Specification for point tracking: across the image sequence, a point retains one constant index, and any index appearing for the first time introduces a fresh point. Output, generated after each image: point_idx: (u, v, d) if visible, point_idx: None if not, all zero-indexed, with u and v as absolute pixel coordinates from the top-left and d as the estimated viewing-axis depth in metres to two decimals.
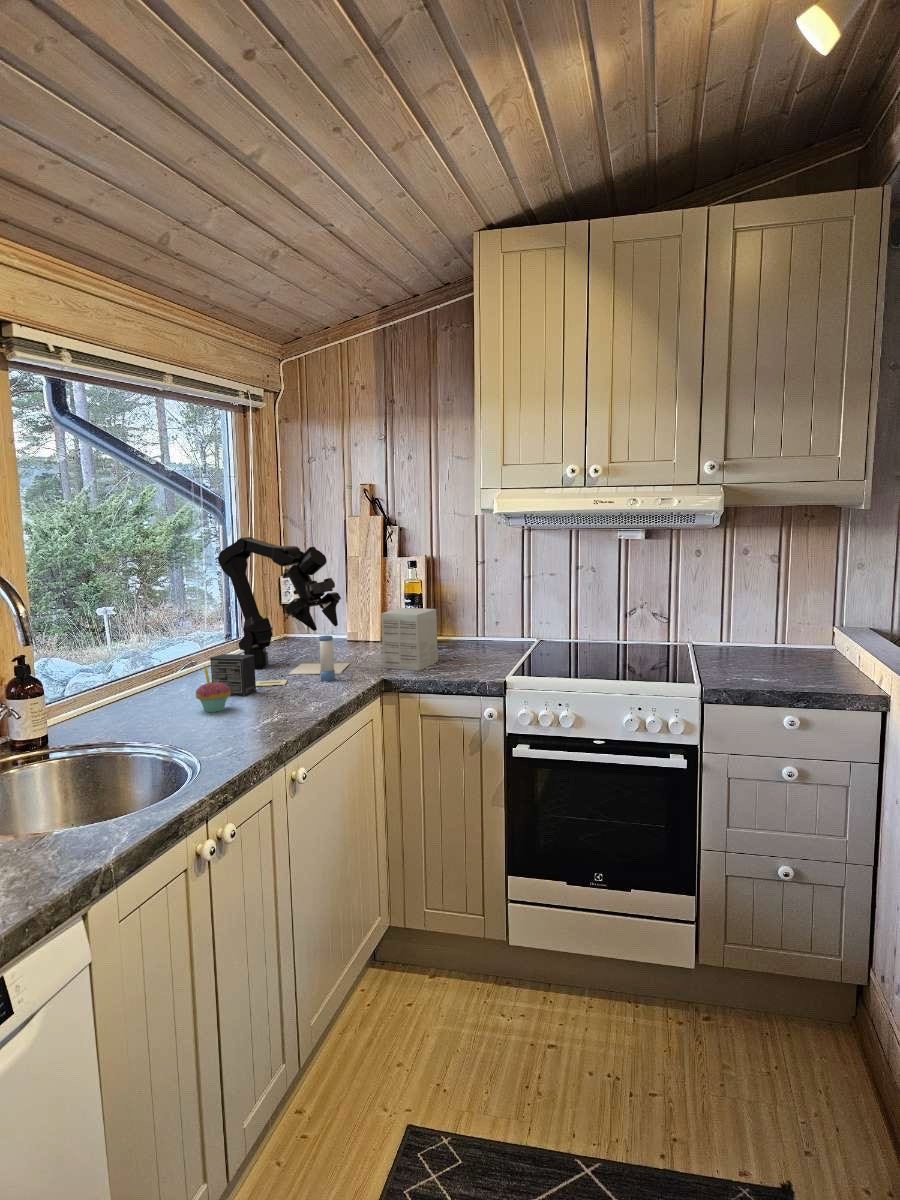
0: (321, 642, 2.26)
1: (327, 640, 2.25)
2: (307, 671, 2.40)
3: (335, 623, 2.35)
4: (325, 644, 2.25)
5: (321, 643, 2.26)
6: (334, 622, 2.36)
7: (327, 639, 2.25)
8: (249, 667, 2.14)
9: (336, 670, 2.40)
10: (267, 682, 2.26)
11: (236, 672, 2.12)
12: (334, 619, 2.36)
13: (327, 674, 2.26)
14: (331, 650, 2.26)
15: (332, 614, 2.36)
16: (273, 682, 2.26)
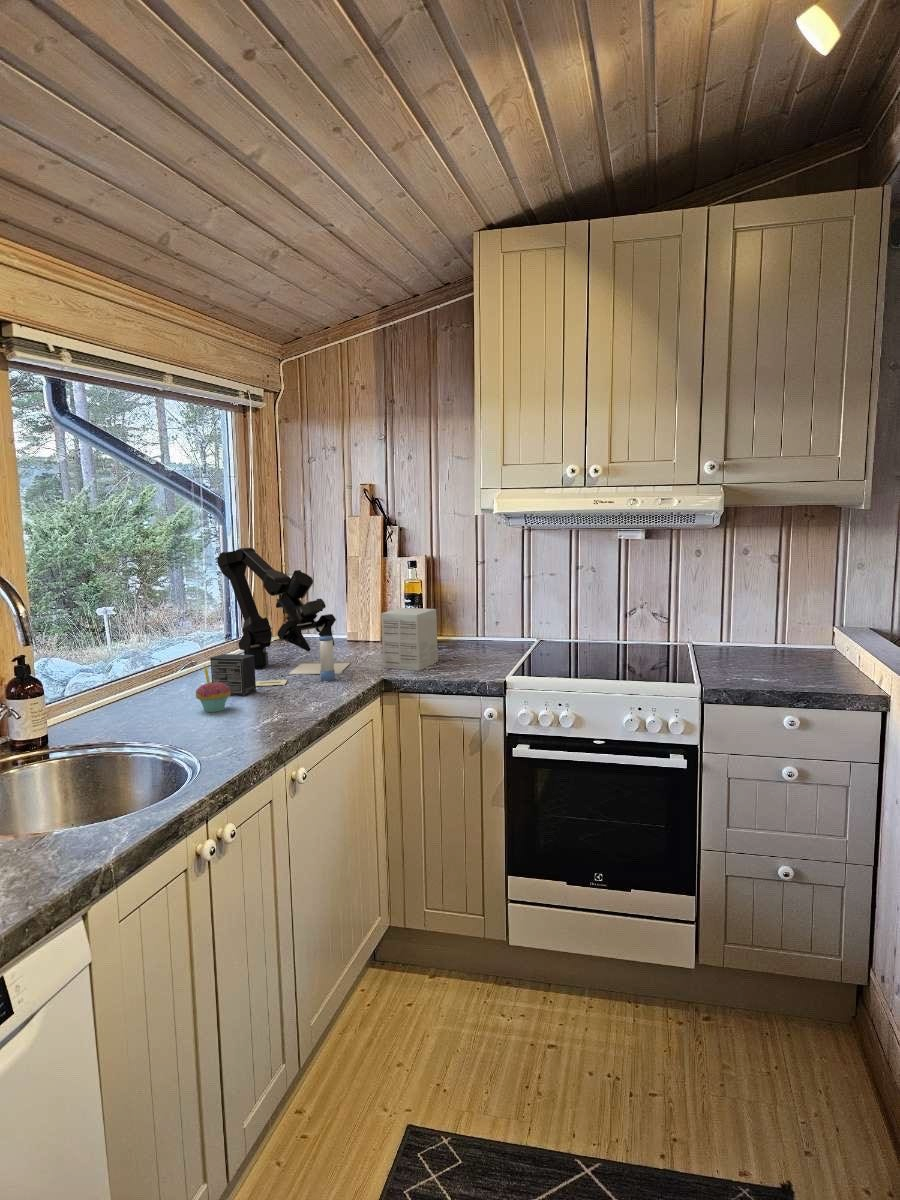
0: (321, 642, 2.26)
1: (327, 640, 2.25)
2: (307, 671, 2.40)
3: None
4: (325, 644, 2.25)
5: (321, 643, 2.26)
6: None
7: (327, 639, 2.25)
8: (249, 667, 2.14)
9: (336, 670, 2.40)
10: (267, 682, 2.26)
11: (236, 672, 2.12)
12: None
13: (327, 674, 2.26)
14: (331, 650, 2.26)
15: (328, 635, 2.33)
16: (273, 682, 2.26)
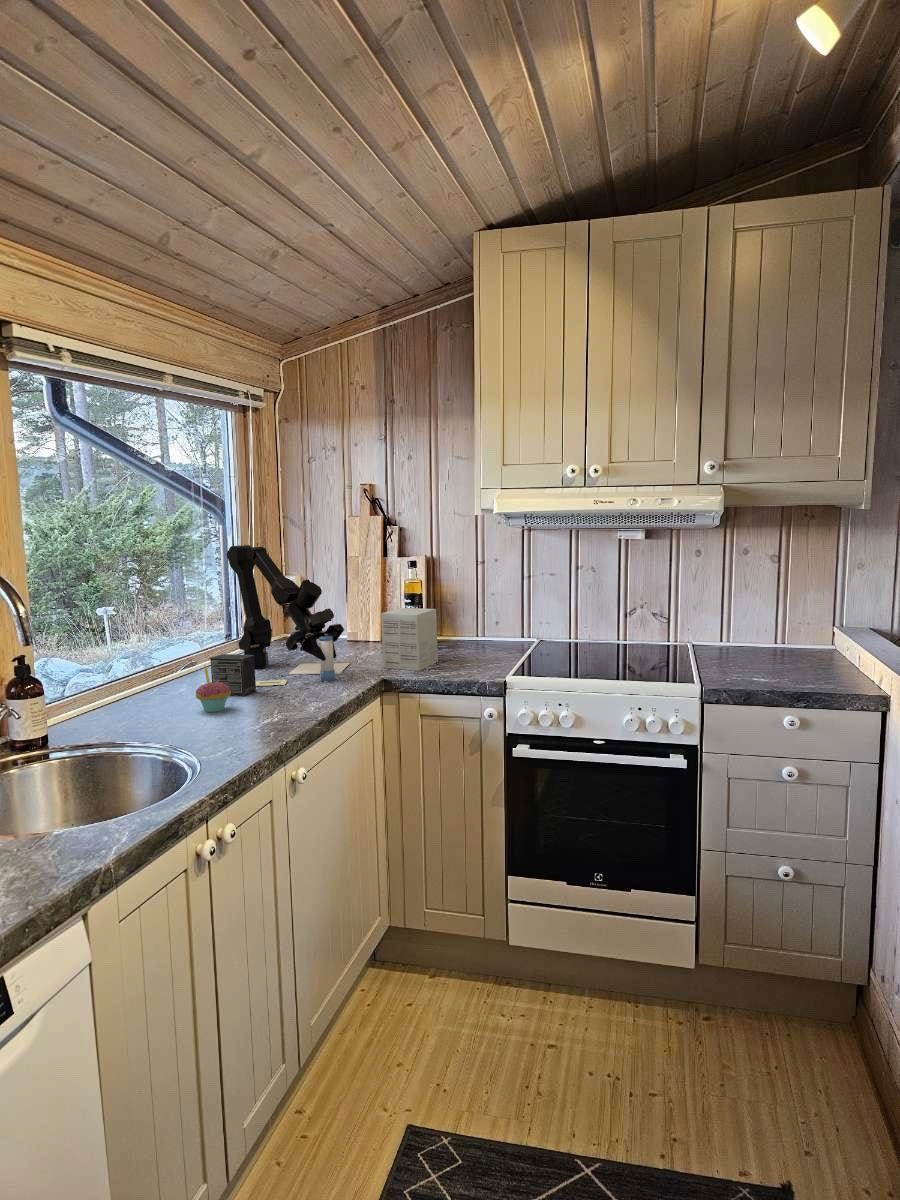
0: (321, 642, 2.26)
1: (327, 640, 2.25)
2: (307, 671, 2.40)
3: (334, 655, 2.28)
4: (325, 644, 2.25)
5: (321, 643, 2.26)
6: None
7: (327, 638, 2.25)
8: (249, 667, 2.14)
9: (336, 670, 2.40)
10: (267, 682, 2.26)
11: (236, 672, 2.12)
12: None
13: (327, 674, 2.26)
14: (331, 650, 2.26)
15: None
16: (273, 682, 2.26)
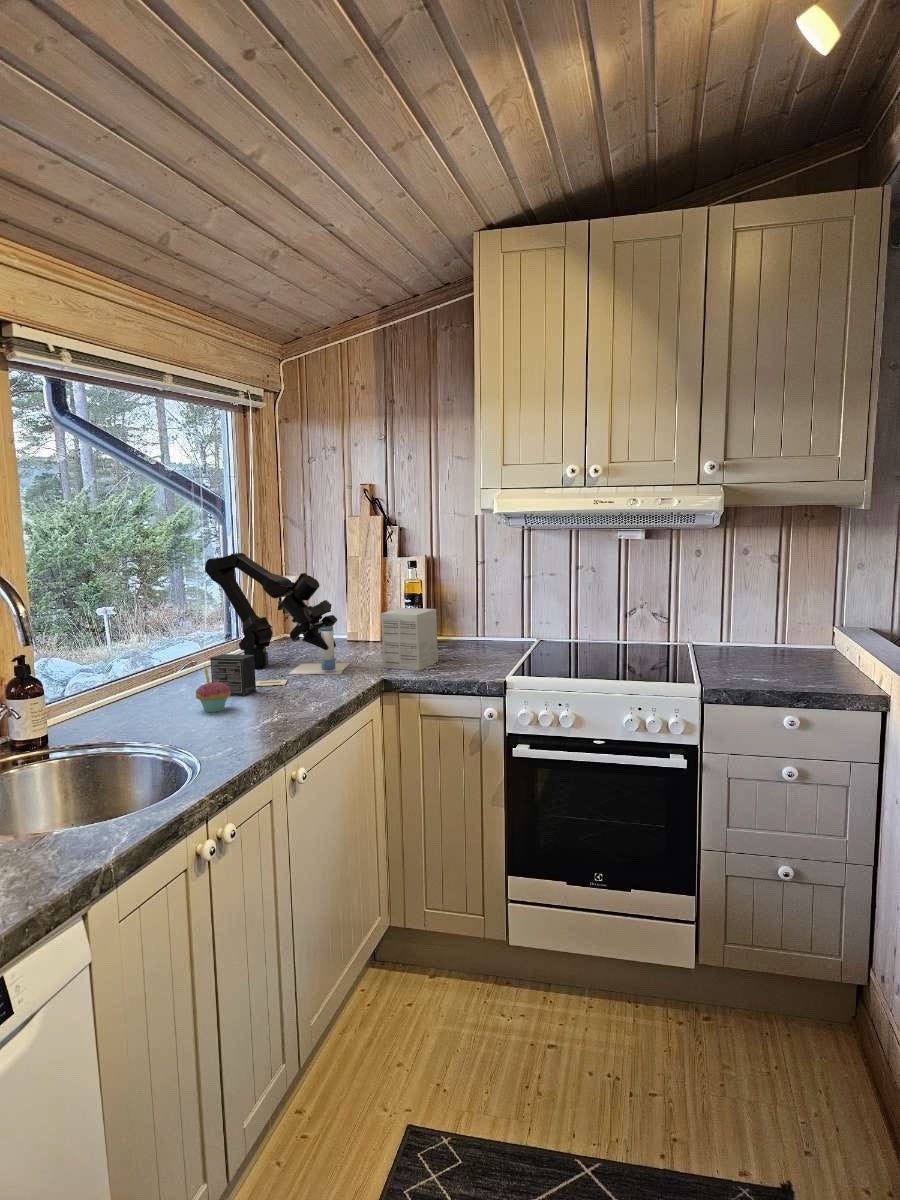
0: (323, 632, 2.35)
1: (329, 630, 2.35)
2: (307, 671, 2.40)
3: None
4: (327, 634, 2.35)
5: (323, 633, 2.35)
6: None
7: (329, 629, 2.35)
8: (249, 667, 2.14)
9: (336, 670, 2.40)
10: (267, 682, 2.26)
11: (236, 672, 2.12)
12: None
13: (329, 662, 2.36)
14: (332, 639, 2.37)
15: None
16: (273, 682, 2.26)
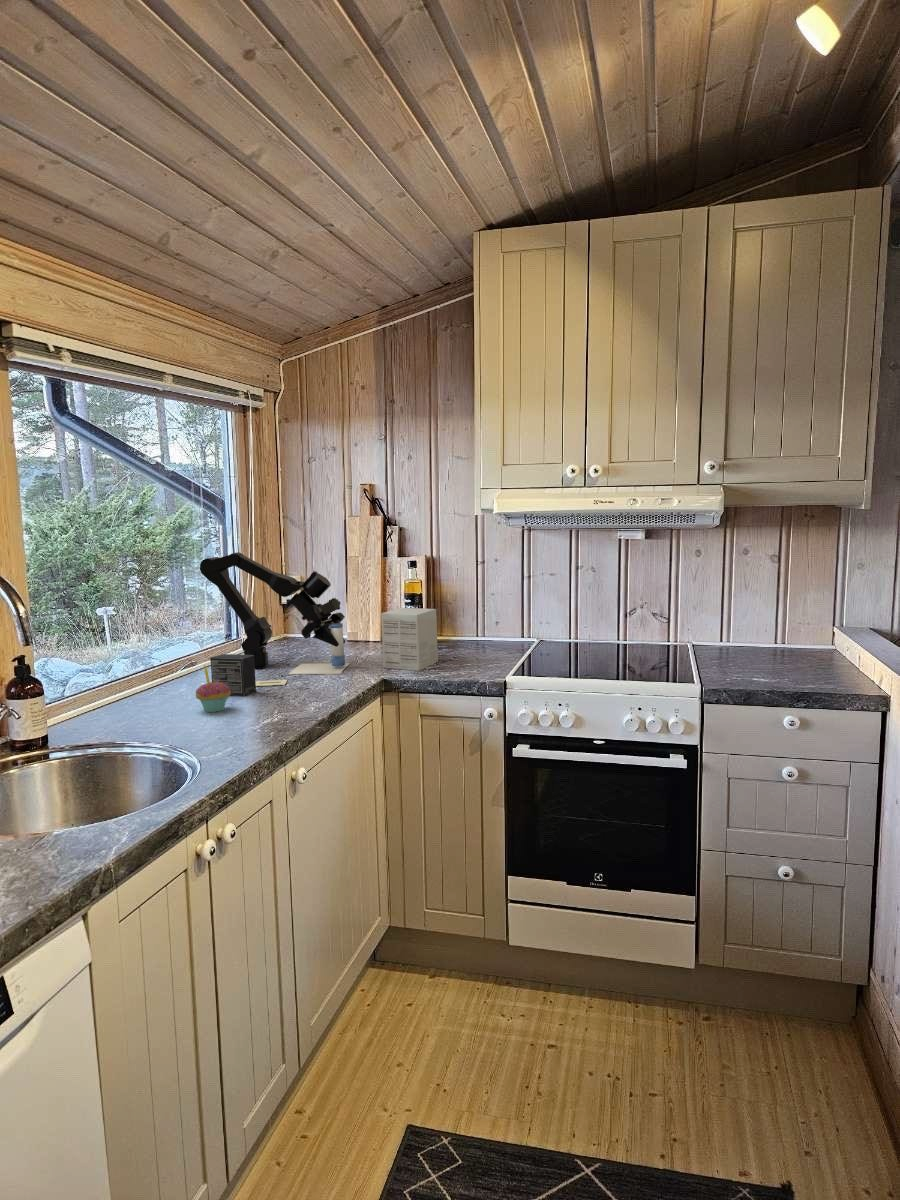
0: (334, 629, 2.41)
1: (339, 627, 2.41)
2: (307, 671, 2.40)
3: None
4: (338, 631, 2.41)
5: (334, 630, 2.41)
6: None
7: (340, 625, 2.41)
8: (249, 667, 2.14)
9: (336, 670, 2.40)
10: (267, 682, 2.26)
11: (236, 672, 2.12)
12: None
13: (340, 658, 2.42)
14: (342, 636, 2.43)
15: None
16: (273, 682, 2.26)
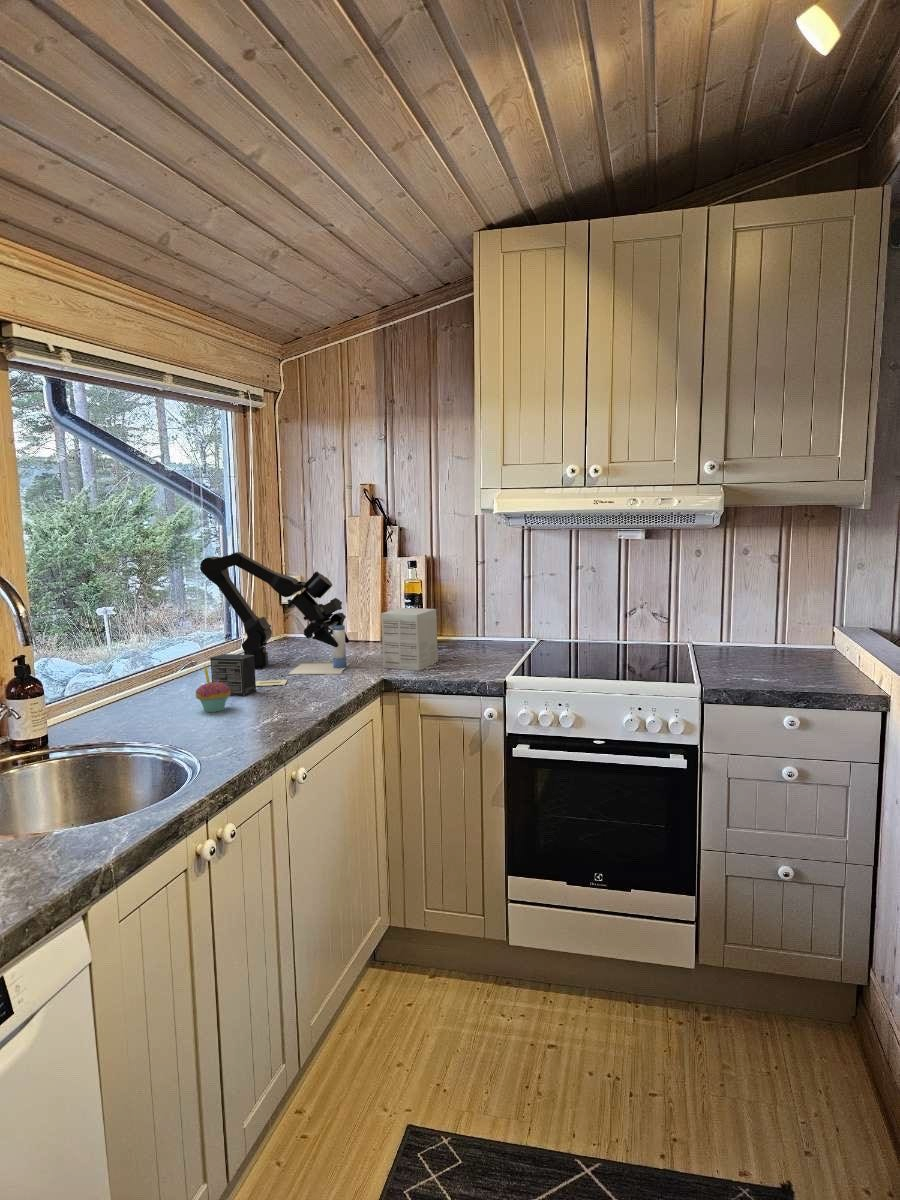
0: (336, 631, 2.42)
1: (342, 629, 2.42)
2: (307, 671, 2.40)
3: (347, 640, 2.47)
4: (340, 633, 2.42)
5: (336, 632, 2.42)
6: (345, 639, 2.47)
7: (342, 628, 2.42)
8: (249, 667, 2.14)
9: (336, 670, 2.40)
10: (267, 682, 2.26)
11: (236, 672, 2.12)
12: (345, 636, 2.47)
13: (342, 660, 2.43)
14: (344, 638, 2.44)
15: None
16: (273, 682, 2.26)
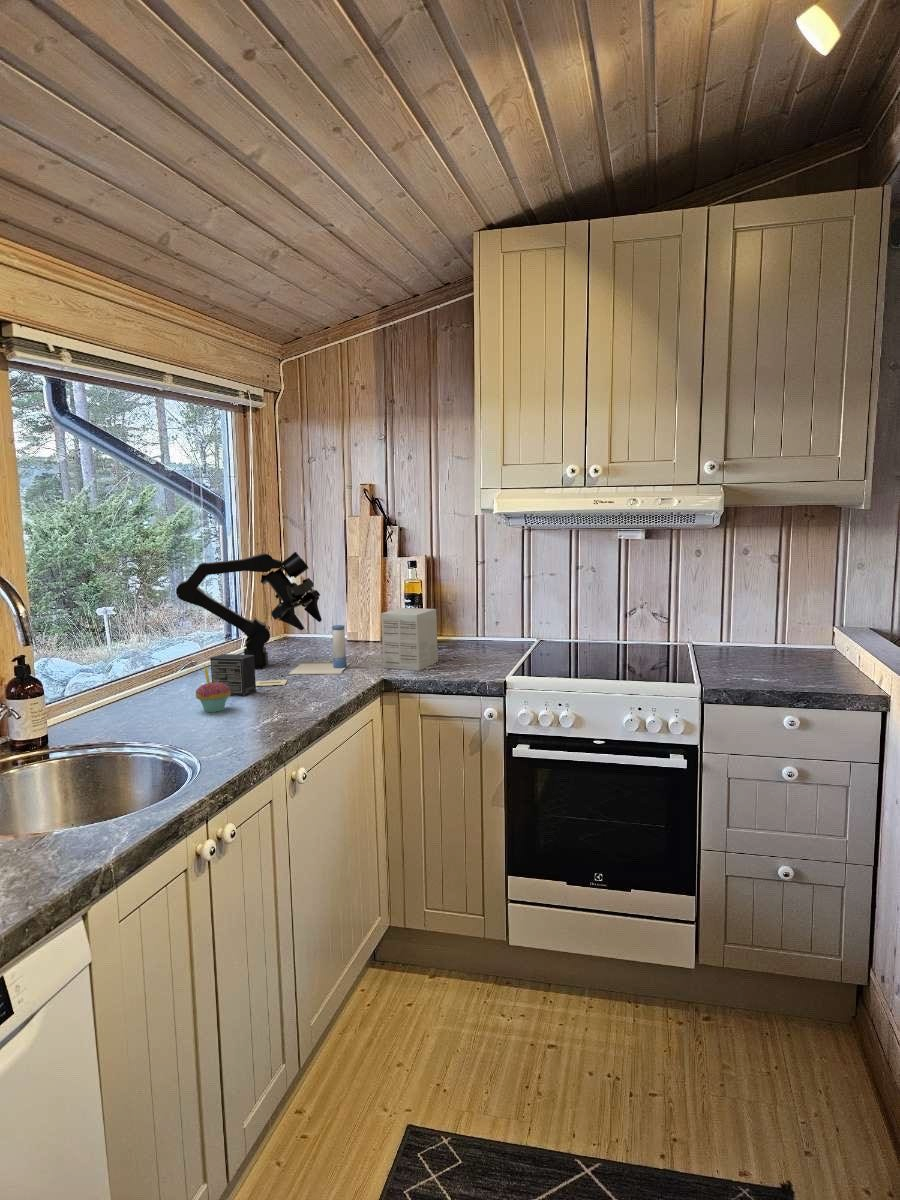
0: (336, 631, 2.42)
1: (341, 629, 2.42)
2: (307, 671, 2.40)
3: (319, 619, 2.51)
4: (340, 633, 2.42)
5: (335, 632, 2.42)
6: (318, 618, 2.51)
7: (341, 628, 2.42)
8: (249, 667, 2.14)
9: (336, 670, 2.40)
10: (267, 682, 2.26)
11: (236, 672, 2.12)
12: (317, 615, 2.51)
13: (342, 660, 2.43)
14: (344, 638, 2.44)
15: (315, 611, 2.51)
16: (273, 682, 2.26)
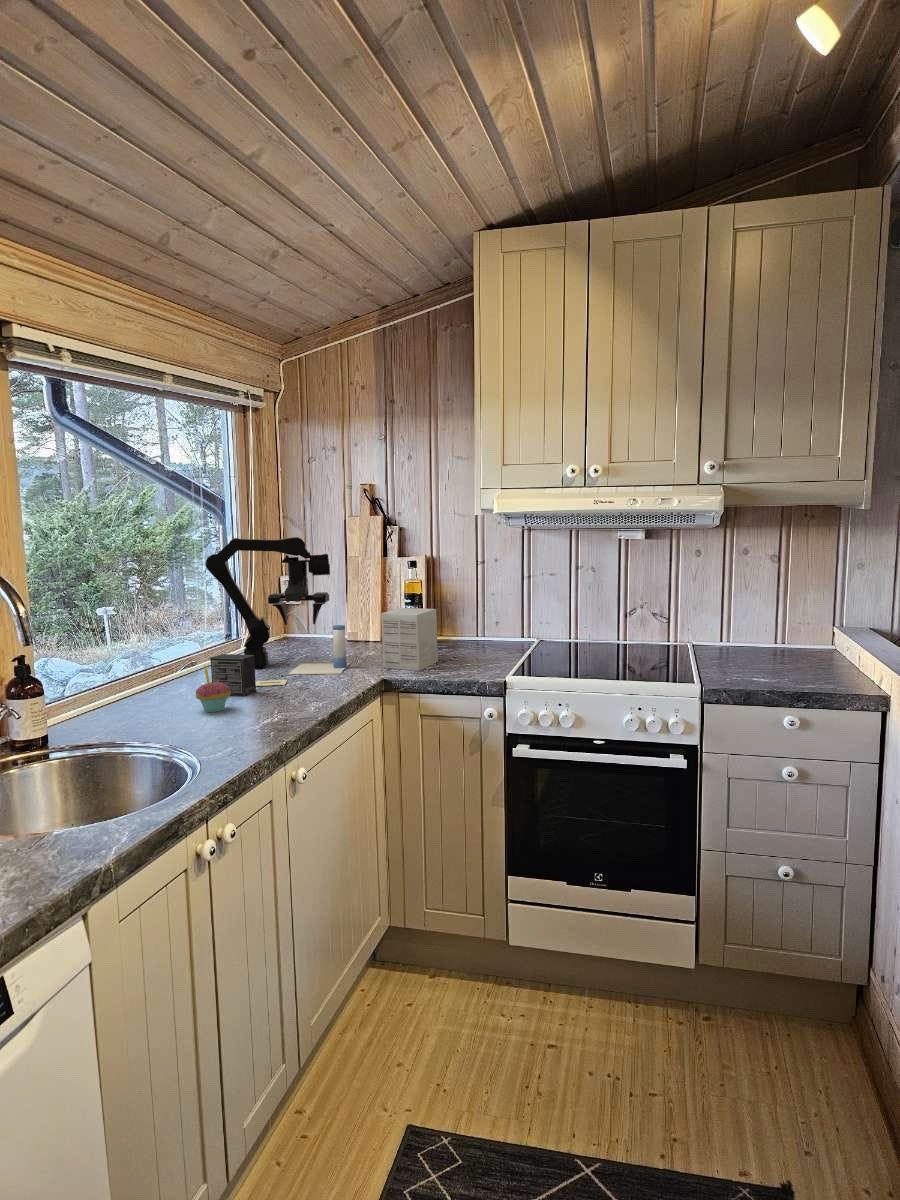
0: (336, 631, 2.42)
1: (342, 629, 2.43)
2: (307, 671, 2.40)
3: None
4: (340, 632, 2.42)
5: (336, 632, 2.42)
6: None
7: (342, 627, 2.42)
8: (249, 667, 2.14)
9: (336, 670, 2.40)
10: (267, 682, 2.26)
11: (236, 672, 2.12)
12: (313, 618, 2.51)
13: (342, 660, 2.43)
14: None
15: None
16: (273, 682, 2.26)
